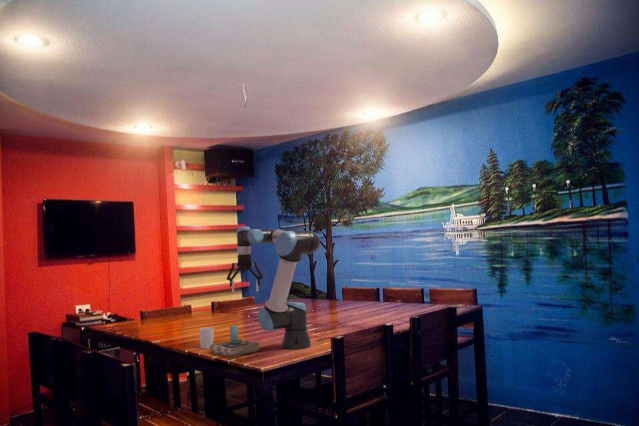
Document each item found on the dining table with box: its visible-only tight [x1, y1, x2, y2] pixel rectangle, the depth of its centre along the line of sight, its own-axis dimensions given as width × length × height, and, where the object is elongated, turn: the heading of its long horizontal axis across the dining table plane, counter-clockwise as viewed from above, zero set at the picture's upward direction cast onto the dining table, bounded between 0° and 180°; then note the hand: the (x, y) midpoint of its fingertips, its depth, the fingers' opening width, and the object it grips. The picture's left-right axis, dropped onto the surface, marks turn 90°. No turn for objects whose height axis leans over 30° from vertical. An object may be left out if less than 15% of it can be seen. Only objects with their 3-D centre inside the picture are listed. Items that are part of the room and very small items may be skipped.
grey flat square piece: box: [209, 338, 261, 358], centre depth 240 cm, size 18×18×4 cm
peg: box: [229, 324, 239, 345], centre depth 241 cm, size 4×4×12 cm
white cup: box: [198, 326, 215, 349], centre depth 255 cm, size 8×8×10 cm
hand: (245, 292), depth 263 cm, fingers open, 13 cm apart
